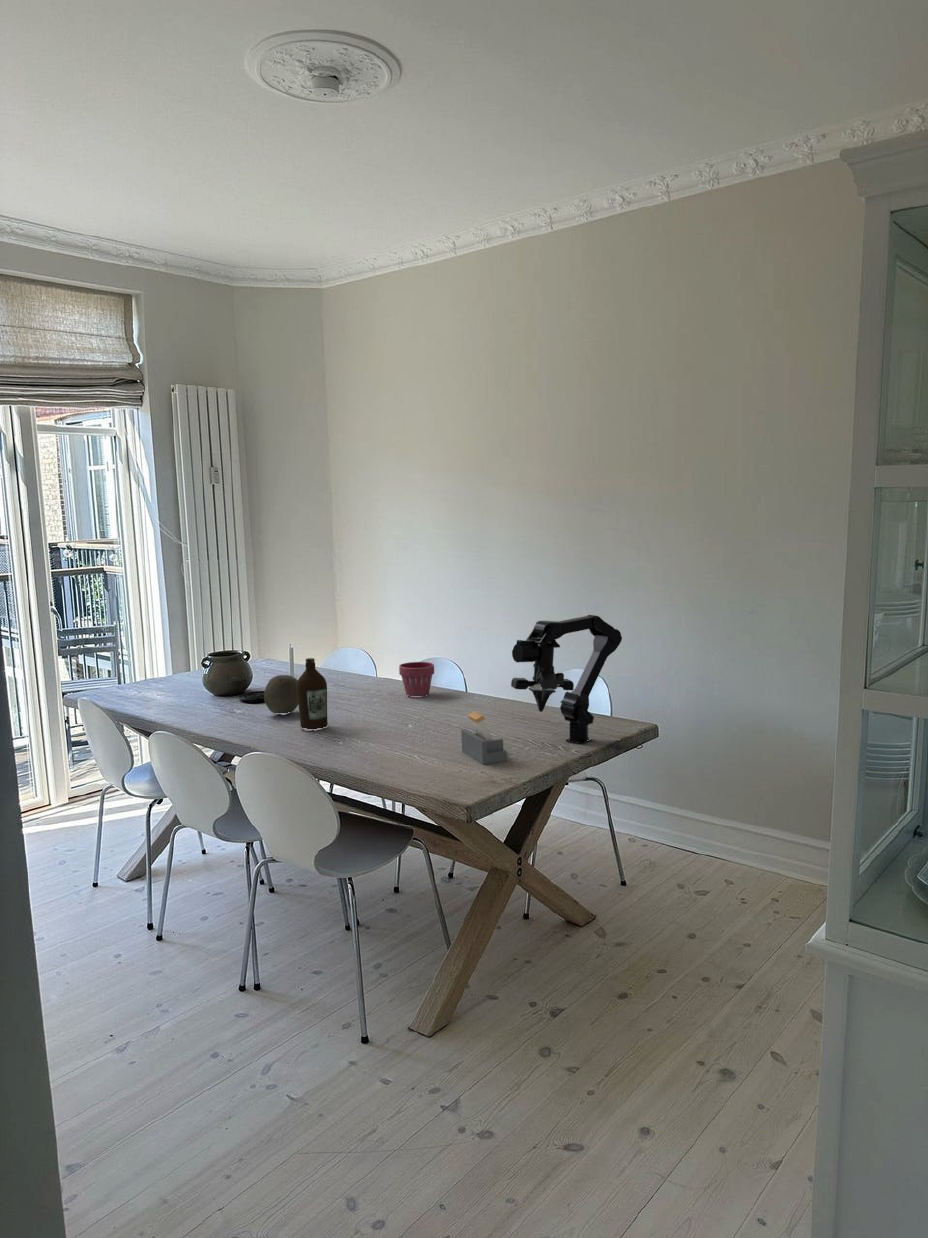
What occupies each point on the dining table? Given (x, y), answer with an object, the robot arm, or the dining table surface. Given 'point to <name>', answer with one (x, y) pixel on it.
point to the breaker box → (482, 748)
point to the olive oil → (312, 697)
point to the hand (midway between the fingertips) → (540, 711)
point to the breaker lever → (480, 725)
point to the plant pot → (417, 677)
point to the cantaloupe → (281, 694)
